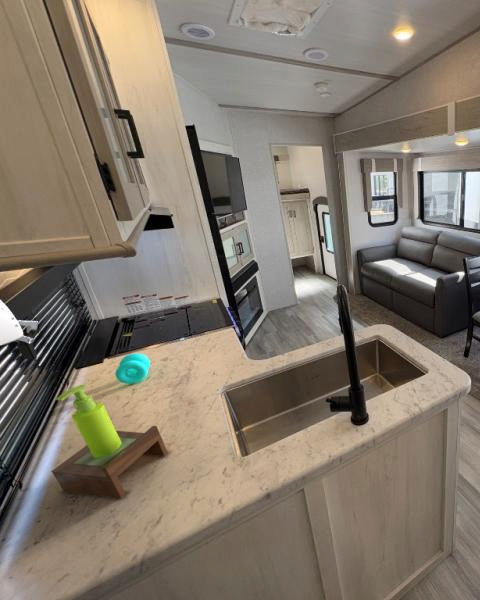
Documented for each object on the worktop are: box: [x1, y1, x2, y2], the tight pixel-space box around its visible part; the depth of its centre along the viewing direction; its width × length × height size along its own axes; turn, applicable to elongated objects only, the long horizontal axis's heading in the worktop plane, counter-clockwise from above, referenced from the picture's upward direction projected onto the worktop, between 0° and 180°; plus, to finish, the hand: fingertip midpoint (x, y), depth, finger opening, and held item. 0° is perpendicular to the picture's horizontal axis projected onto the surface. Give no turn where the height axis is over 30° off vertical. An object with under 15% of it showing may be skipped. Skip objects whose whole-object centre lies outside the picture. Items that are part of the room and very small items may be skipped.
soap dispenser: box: [54, 384, 122, 458], centre depth 79 cm, size 6×7×20 cm
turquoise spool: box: [114, 353, 151, 385], centre depth 128 cm, size 10×10×10 cm
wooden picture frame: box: [51, 425, 169, 499], centre depth 84 cm, size 18×14×10 cm
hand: (3, 369), depth 70 cm, fingers open, 9 cm apart
